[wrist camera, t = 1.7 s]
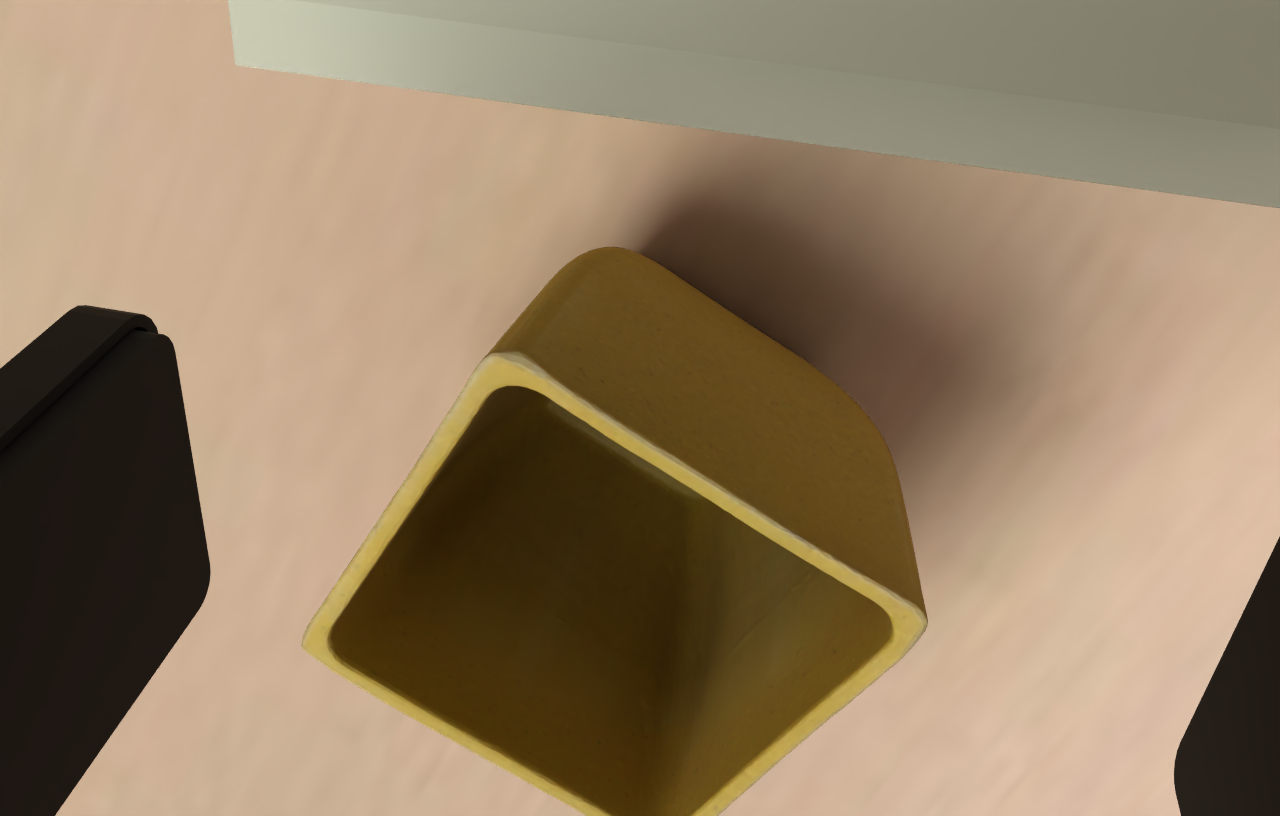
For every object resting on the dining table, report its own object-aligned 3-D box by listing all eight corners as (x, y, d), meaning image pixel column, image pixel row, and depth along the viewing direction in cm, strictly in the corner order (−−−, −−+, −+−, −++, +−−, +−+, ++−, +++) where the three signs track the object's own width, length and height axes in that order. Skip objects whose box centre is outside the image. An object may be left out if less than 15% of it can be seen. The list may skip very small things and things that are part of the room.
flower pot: (433, 404, 31) (287, 656, 23) (606, 136, 26) (490, 347, 19) (718, 577, 32) (665, 864, 25) (931, 353, 28) (944, 626, 20)
